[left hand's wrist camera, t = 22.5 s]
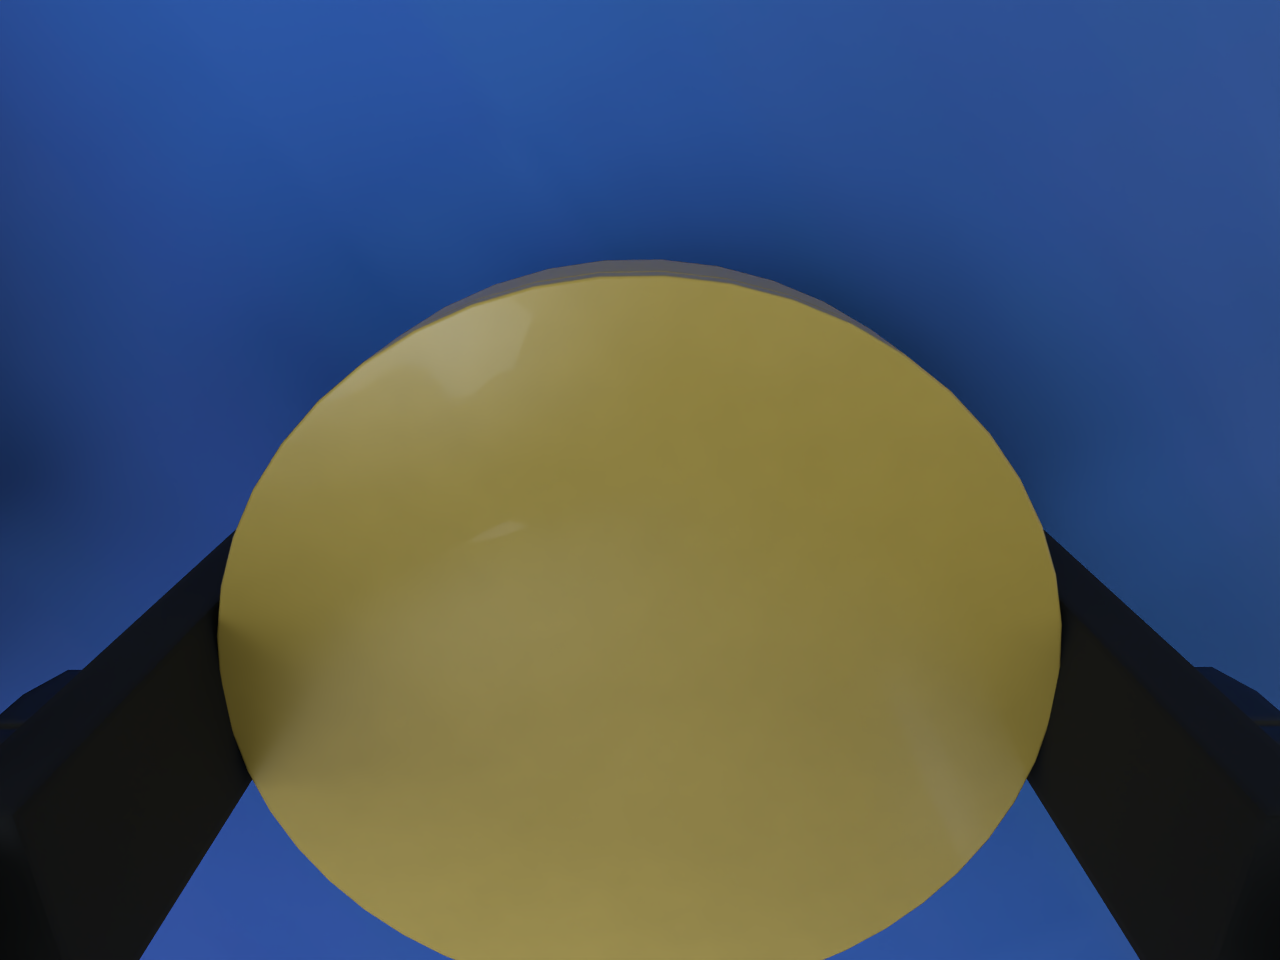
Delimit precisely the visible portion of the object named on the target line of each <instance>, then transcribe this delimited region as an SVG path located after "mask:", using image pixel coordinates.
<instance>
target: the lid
mask: <svg viewBox="0 0 1280 960" xmlns="http://www.w3.org/2000/svg"><path fill="white" fill-rule="evenodd" d="M1061 629H1062V622H1061V614H1060V605H1059V597H1058V588H1057V580H1056V573H1055V570H1054V566H1053V562H1052V559H1051V555H1050V552H1049V548H1048V545H1047V541H1046V538H1045V534H1044V531H1043V527H1042V525H1041V522H1040V520H1039V518H1038V516H1037V514H1036V512H1035V509H1034V507H1033V505H1032V503H1031V501H1030V499H1029V497H1028V494H1027V492H1026V490H1025V488H1024V486H1023V484H1022V481H1021V479H1020V478H1019V476H1018V475H1017V473H1016V472H1015V470H1014V469H1013V467H1012V466H1011V464H1010V463H1009V461H1008V460H1007V458H1006V457H1005V455H1004V454H1003V452H1002V451H1001V449H1000V448H999V446H998V445H997V443H996V442H995V440H994V439H993V437H992V436H991V434H990V433H989V432H988V431H987V430H986V429H985V428H984V426H983V425H982V424H981V423H980V422H979V421H978V420H977V419H976V418H975V417H974V416H973V415H972V413H971V412H970V411H969V410H968V409H967V408H966V407H965V406H964V405H963V404H962V403H961V402H960V400H959V399H958V398H957V397H956V396H955V395H954V394H953V393H952V392H951V391H950V390H949V389H948V388H946V387H945V386H944V385H943V384H941V383H940V382H939V381H938V380H936V379H935V378H934V377H933V376H931V375H930V374H929V373H928V372H926V371H925V370H924V369H923V368H921V367H920V366H919V365H918V364H916V363H915V362H914V361H913V360H911V359H910V358H909V357H908V356H906V355H905V354H904V353H902V352H901V351H900V350H898V349H897V348H895V347H894V346H893V345H891V344H890V343H889V342H887V341H886V340H885V339H883V338H882V337H880V336H879V335H878V334H876V333H875V332H874V331H872V330H871V329H869V328H868V327H866V326H864V325H862V324H861V323H859V322H857V321H856V320H854V319H852V318H851V317H849V316H847V315H845V314H844V313H842V312H840V311H839V310H837V309H835V308H834V307H832V306H830V305H828V304H827V303H825V302H823V301H821V300H818V299H816V298H814V297H811V296H809V295H806V294H804V293H802V292H799V291H797V290H794V289H792V288H789V287H787V286H785V285H782V284H780V283H777V282H775V281H773V280H769V279H765V278H761V277H757V276H753V275H749V274H746V273H742V272H738V271H734V270H730V269H726V268H723V267H719V266H711V265H703V264H694V263H686V262H678V261H669V260H604V261H597V262H591V263H584V264H578V265H571V266H564V267H558V268H551V269H546V270H543V271H540V272H536V273H533V274H529V275H526V276H523V277H519V278H516V279H512V280H509V281H506V282H502V283H499V284H495V285H493V286H491V287H488V288H486V289H484V290H482V291H480V292H477V293H475V294H473V295H471V296H468V297H466V298H464V299H462V300H460V301H457V302H455V303H453V304H451V305H449V306H446V307H444V308H443V309H441V310H439V311H438V312H436V313H435V314H433V315H432V316H430V317H428V318H427V319H425V320H424V321H422V322H421V323H419V324H417V325H416V326H414V327H413V328H411V329H410V330H408V331H406V332H405V333H403V334H402V335H400V336H399V337H397V338H396V339H394V340H393V341H392V342H390V343H389V344H388V345H386V346H385V347H383V348H382V349H381V350H379V351H378V352H377V353H375V354H374V355H373V356H371V357H370V358H368V359H367V360H366V361H364V362H363V363H362V364H360V365H359V366H358V367H357V368H356V369H355V370H354V371H352V372H351V373H350V374H349V375H348V376H347V377H345V378H344V379H343V380H342V381H341V382H340V383H338V384H337V385H336V386H335V387H334V388H333V389H331V390H330V391H329V392H328V393H327V394H326V395H324V396H323V397H322V398H321V399H320V400H319V401H318V402H317V403H316V404H315V405H314V406H313V408H312V409H311V410H310V411H309V412H308V413H307V415H306V416H305V417H304V418H303V419H302V420H301V421H300V423H299V424H298V425H297V426H296V427H295V428H294V430H293V431H292V432H291V433H290V434H289V435H288V437H287V438H286V439H285V440H284V441H283V442H282V444H281V445H280V447H279V448H278V450H277V452H276V453H275V455H274V456H273V458H272V460H271V461H270V463H269V465H268V466H267V468H266V469H265V471H264V473H263V474H262V476H261V477H260V479H259V481H258V482H257V484H256V485H255V487H254V489H253V491H252V493H251V495H250V498H249V500H248V503H247V505H246V507H245V510H244V512H243V514H242V517H241V519H240V522H239V524H238V526H237V529H236V531H235V534H234V536H233V539H232V543H231V547H230V551H229V555H228V559H227V564H226V568H225V572H224V576H223V580H222V584H221V593H220V605H219V618H218V630H217V642H218V655H219V668H220V674H221V680H222V685H223V690H224V694H225V699H226V703H227V708H228V713H229V717H230V722H231V726H232V731H233V734H234V737H235V740H236V742H237V745H238V747H239V750H240V752H241V755H242V757H243V760H244V763H245V765H246V768H247V770H248V772H249V774H250V776H251V778H252V779H253V781H254V783H255V785H256V787H257V788H258V790H259V792H260V794H261V796H262V797H263V799H264V801H265V803H266V804H267V806H268V808H269V810H270V811H271V813H272V814H273V815H274V817H275V818H276V819H277V821H278V822H279V824H280V825H281V826H282V828H283V829H284V830H285V832H286V833H287V834H288V836H289V837H290V838H291V840H292V841H293V842H294V844H295V845H296V846H297V848H298V849H299V850H300V851H301V852H302V853H303V854H304V855H305V856H306V857H307V858H308V859H309V860H310V861H311V862H312V863H313V864H314V865H315V866H316V867H317V868H318V869H319V870H320V871H321V873H322V874H323V875H324V876H325V877H326V878H327V879H328V880H329V881H330V882H332V883H333V884H334V885H335V886H336V887H338V888H339V889H340V890H341V891H343V892H344V893H345V894H346V895H347V896H349V897H350V898H351V899H352V900H354V901H355V902H356V903H357V904H358V905H360V906H361V907H362V908H363V909H364V910H366V911H368V912H369V913H371V914H372V915H374V916H375V917H377V918H378V919H380V920H381V921H383V922H384V923H386V924H388V925H389V926H391V927H392V928H394V929H395V930H397V931H398V932H400V933H401V934H403V935H405V936H407V937H409V938H411V939H413V940H415V941H417V942H419V943H421V944H423V945H425V946H427V947H429V948H430V949H432V950H434V951H436V952H438V953H440V954H442V955H444V956H447V957H450V958H452V959H455V960H824V959H826V958H828V957H831V956H833V955H836V954H838V953H840V952H843V951H845V950H847V949H849V948H851V947H853V946H854V945H856V944H858V943H860V942H862V941H864V940H866V939H867V938H869V937H871V936H873V935H875V934H877V933H879V932H880V931H882V930H884V929H886V928H887V927H889V926H890V925H892V924H893V923H895V922H896V921H897V920H899V919H900V918H902V917H903V916H905V915H906V914H908V913H909V912H911V911H912V910H913V909H915V908H916V907H918V906H919V905H921V904H922V903H924V902H925V901H926V900H927V899H928V898H929V897H930V896H932V895H933V894H934V893H935V892H936V891H937V890H938V889H940V888H941V887H942V886H943V885H944V884H945V883H947V882H948V881H949V880H950V879H951V878H952V877H953V876H955V875H956V874H957V873H958V872H959V871H960V870H961V869H962V868H963V866H964V865H965V864H966V863H967V862H968V861H969V860H970V859H971V858H972V856H973V855H974V854H975V853H976V852H977V851H978V850H979V849H980V848H981V847H982V845H983V844H984V843H985V842H986V841H987V840H988V839H989V837H990V836H991V835H992V833H993V832H994V830H995V829H996V827H997V826H998V825H999V823H1000V822H1001V820H1002V819H1003V817H1004V816H1005V815H1006V813H1007V812H1008V810H1009V809H1010V807H1011V806H1012V805H1013V803H1014V802H1015V800H1016V798H1017V796H1018V794H1019V792H1020V790H1021V788H1022V786H1023V784H1024V782H1025V781H1026V779H1027V777H1028V775H1029V773H1030V771H1031V769H1032V767H1033V765H1034V763H1035V761H1036V758H1037V756H1038V753H1039V750H1040V747H1041V744H1042V741H1043V739H1044V736H1045V733H1046V730H1047V726H1048V722H1049V718H1050V713H1051V708H1052V704H1053V699H1054V694H1055V689H1056V684H1057V679H1058V675H1059V669H1060V654H1061Z"/></svg>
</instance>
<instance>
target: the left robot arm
mask: <svg viewBox="0 0 1280 960" xmlns="http://www.w3.org/2000/svg"><path fill="white" fill-rule="evenodd" d="M235 531H236V530H235ZM235 531H234V532H233V533H232V534H231V535H229V536H228V537H227V538H226V539H225V540H224V541H223V542H222V543H221V544H220V545H219V546H217V547H216V548H215V549H214V550H213V551H212V552H211V553H210V554H209V555H208V556H206V557H205V558H204V559H203V560H202V561H201V562H200V563H199V564H198V565H197V566H196V567H194V568H193V569H192V570H191V571H190V572H189V573H188V574H187V575H186V576H185V577H183V578H182V579H181V580H180V581H179V582H178V583H177V584H176V585H175V586H174V587H173V588H171V589H170V590H169V591H168V592H167V593H166V594H165V595H164V596H163V597H162V598H160V599H159V600H158V601H157V602H156V603H155V604H154V605H153V606H152V607H151V608H150V609H148V610H147V611H146V612H145V613H144V614H143V615H142V616H141V617H140V618H139V619H137V620H136V621H135V622H134V623H133V624H132V625H131V626H130V627H129V628H128V629H127V630H125V631H124V632H123V633H122V634H121V635H120V636H119V637H118V638H117V639H116V640H114V641H113V642H112V643H111V644H110V645H109V646H108V647H107V648H106V649H105V650H104V651H102V652H101V653H100V654H99V655H98V656H97V657H96V658H95V659H94V660H93V661H91V662H90V663H89V664H88V665H87V666H86V667H85V668H84V669H83V670H67V671H65V672H64V673H62V674H60V675H58V676H56V677H54V678H53V679H51V680H49V681H47V682H45V683H44V684H42V685H40V686H38V687H36V688H34V689H33V690H31V691H29V692H27V693H25V694H23V695H22V696H21V697H20V698H19V699H18V700H16V701H15V702H14V703H13V704H12V705H11V706H9V707H8V708H7V709H6V710H5V711H4V712H3V713H1V714H0V960H139V959H140V958H141V956H142V955H143V953H144V951H145V950H146V948H147V947H148V945H149V943H150V942H151V940H152V939H153V937H154V935H155V934H156V932H157V931H158V929H159V927H160V926H161V924H162V923H163V921H164V919H165V918H166V916H167V915H168V913H169V911H170V910H171V908H172V907H173V905H174V903H175V902H176V900H177V899H178V897H179V895H180V894H181V892H182V891H183V889H184V887H185V886H186V884H187V883H188V881H189V880H190V878H191V876H192V875H193V873H194V872H195V870H196V868H197V867H198V865H199V864H200V862H201V860H202V859H203V857H204V856H205V854H206V852H207V851H208V849H209V848H210V846H211V844H212V843H213V841H214V840H215V838H216V836H217V835H218V833H219V832H220V830H221V828H222V827H223V825H224V824H225V822H226V820H227V819H228V817H229V816H230V814H231V812H232V811H233V809H234V808H235V806H236V804H237V803H238V801H239V800H240V798H241V796H242V795H243V793H244V792H245V790H246V789H247V787H248V785H249V784H250V782H251V781H252V778H251V776H250V774H249V772H248V770H247V768H246V765H245V763H244V760H243V757H242V755H241V752H240V750H239V747H238V745H237V742H236V740H235V737H234V734H233V731H232V726H231V722H230V717H229V713H228V708H227V703H226V699H225V694H224V690H223V685H222V680H221V674H220V668H219V655H218V642H217V630H218V618H219V605H220V593H221V584H222V580H223V576H224V572H225V568H226V564H227V559H228V555H229V551H230V547H231V543H232V539H233V536H234V534H235ZM1043 531H1044V530H1043ZM1044 534H1045V538H1046V541H1047V545H1048V548H1049V552H1050V555H1051V559H1052V562H1053V566H1054V570H1055V573H1056V580H1057V588H1058V597H1059V605H1060V614H1061V622H1062V629H1061V654H1060V669H1059V675H1058V679H1057V684H1056V689H1055V694H1054V699H1053V704H1052V708H1051V713H1050V718H1049V722H1048V726H1047V730H1046V733H1045V736H1044V739H1043V741H1042V744H1041V747H1040V750H1039V753H1038V756H1037V758H1036V761H1035V763H1034V765H1033V767H1032V769H1031V771H1030V773H1029V775H1028V777H1027V780H1028V781H1029V783H1030V785H1031V786H1032V788H1033V789H1034V791H1035V793H1036V794H1037V796H1038V797H1039V799H1040V801H1041V802H1042V804H1043V805H1044V807H1045V809H1046V810H1047V812H1048V813H1049V815H1050V817H1051V818H1052V820H1053V821H1054V823H1055V824H1056V826H1057V828H1058V829H1059V831H1060V832H1061V834H1062V836H1063V837H1064V839H1065V840H1066V842H1067V844H1068V845H1069V847H1070V848H1071V850H1072V852H1073V853H1074V855H1075V856H1076V858H1077V860H1078V861H1079V863H1080V864H1081V866H1082V868H1083V869H1084V871H1085V872H1086V874H1087V876H1088V877H1089V879H1090V880H1091V882H1092V884H1093V885H1094V887H1095V888H1096V890H1097V892H1098V893H1099V895H1100V896H1101V898H1102V900H1103V901H1104V903H1105V904H1106V906H1107V908H1108V909H1109V911H1110V912H1111V914H1112V916H1113V917H1114V919H1115V920H1116V922H1117V924H1118V925H1119V927H1120V928H1121V930H1122V931H1123V933H1124V935H1125V936H1126V938H1127V939H1128V941H1129V943H1130V944H1131V946H1132V947H1133V949H1134V951H1135V952H1136V954H1137V955H1138V957H1139V959H1140V960H1280V711H1279V710H1278V709H1277V708H1276V707H1274V706H1273V705H1272V704H1271V703H1270V702H1269V701H1267V700H1266V699H1265V698H1264V697H1263V696H1262V695H1260V694H1259V693H1258V692H1257V691H1255V690H1253V689H1251V688H1249V687H1248V686H1246V685H1244V684H1242V683H1240V682H1238V681H1237V680H1235V679H1233V678H1231V677H1229V676H1227V675H1226V674H1224V673H1222V672H1220V671H1218V670H1216V669H1215V668H1213V667H1193V666H1192V665H1191V664H1190V663H1189V662H1188V661H1187V660H1186V659H1185V658H1184V657H1182V656H1181V655H1180V654H1179V653H1178V652H1177V651H1176V650H1175V649H1174V648H1173V647H1172V646H1170V645H1169V644H1168V643H1167V642H1166V641H1165V640H1164V639H1163V638H1162V637H1161V636H1159V635H1158V634H1157V633H1156V632H1155V631H1154V630H1153V629H1152V628H1151V627H1150V626H1149V625H1147V624H1146V623H1145V622H1144V621H1143V620H1142V619H1141V618H1140V617H1139V616H1138V615H1136V614H1135V613H1134V612H1133V611H1132V610H1131V609H1130V608H1129V607H1128V606H1127V605H1126V604H1124V603H1123V602H1122V601H1121V600H1120V599H1119V598H1118V597H1117V596H1116V595H1115V594H1113V593H1112V592H1111V591H1110V590H1109V589H1108V588H1107V587H1106V586H1105V585H1104V584H1103V583H1101V582H1100V581H1099V580H1098V579H1097V578H1096V577H1095V576H1094V575H1093V574H1092V573H1090V572H1089V571H1088V570H1087V569H1086V568H1085V567H1084V566H1083V565H1082V564H1081V563H1080V562H1078V561H1077V560H1076V559H1075V558H1074V557H1073V556H1072V555H1071V554H1070V553H1069V552H1067V551H1066V550H1065V549H1064V548H1063V547H1062V546H1061V545H1060V544H1059V543H1058V542H1057V541H1055V540H1054V539H1053V538H1052V537H1051V536H1050V535H1049V534H1048V533H1047V532H1046V531H1044Z"/></svg>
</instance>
